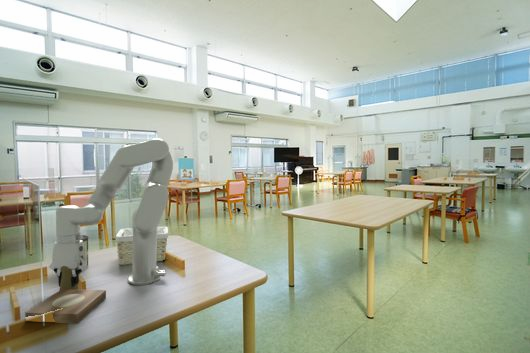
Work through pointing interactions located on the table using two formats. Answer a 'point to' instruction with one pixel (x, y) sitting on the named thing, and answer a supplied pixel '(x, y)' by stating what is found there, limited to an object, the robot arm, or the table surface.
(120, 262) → the storage basket
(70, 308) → the base
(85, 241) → the coffee can
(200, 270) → the table surface
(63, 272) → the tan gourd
